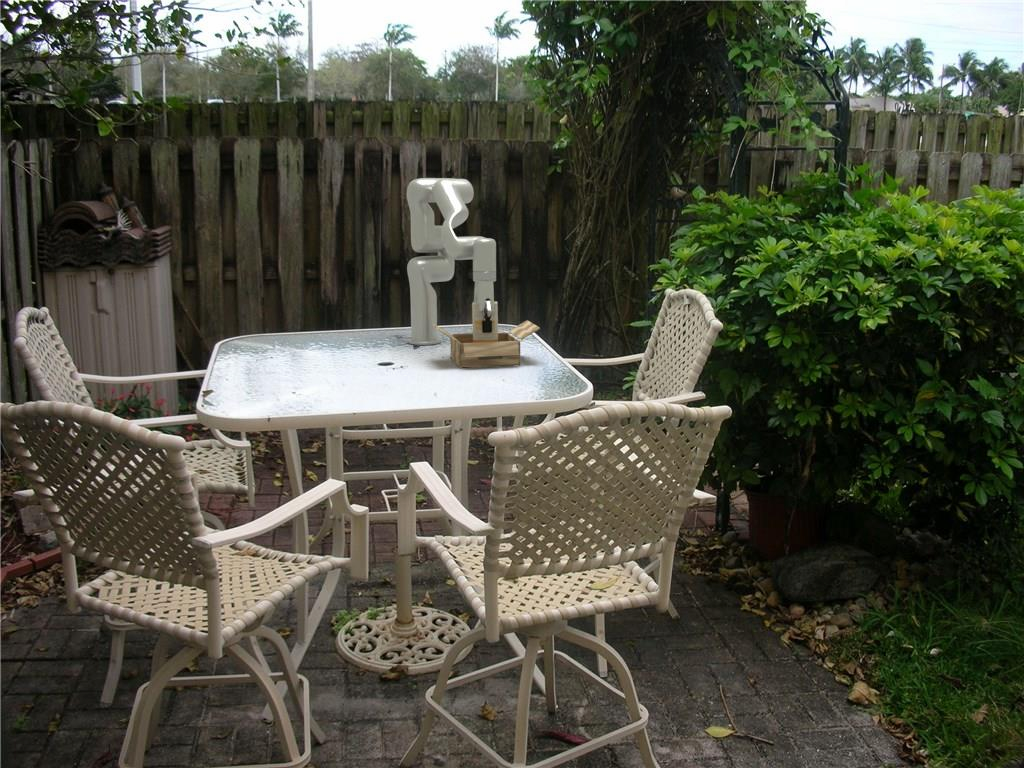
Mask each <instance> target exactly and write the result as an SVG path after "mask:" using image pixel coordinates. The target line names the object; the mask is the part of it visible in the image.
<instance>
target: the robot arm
mask: <svg viewBox="0 0 1024 768" xmlns="http://www.w3.org/2000/svg"><path fill="white" fill-rule="evenodd" d="M474 193H475V191H474V186H473V185H472V183H471V182H470V181H469V180H468V179H465V178H452V177H451V178H449V177H448V178H447V177H445V178H444V177H441V178H439V177H437V178H436V177H423V178H422V177H421V178H420V177H419V178H415V179H413V180H412V181H410V182H409V183H408V186H407V189H406V200H407V204H408V208H409V211H410V243H411V248H412V250H413V251H414V252H415V253H423V254H424V253H437V255H424V256H415V257H413V258H411V259H409V261H408V263H407V267H406V270H407V271H406V272H407V277H408V282H409V283H408V284H409V289H410V290H409V292H410V295H409V296H410V326H411V327H410V329H411V331H410V332H411V333H410V336H411V337H409V338H407V340H406V342H407V343H408V344H409V345H414V346H415V345H417V346H418V345H419V346H429V345H430V346H431V345H437V344H440V342H441V343H442V338H441V337H438V330H437V329H436V328H435V327H434V326H433V325H432V324H431V323H433V324H435V325H437V326H438V306H437V303H438V301H437V292H436V290H435V288H434V287H433V286H432V284H431V283H439V282H442V283H443V282H448V281H450V280H452V279H453V277H454V274H455V261H463V260H464V261H465V260H472V281H473V282H474V294H473V295H474V296H473V302H476V303H477V311H479V312H481V311H482V314H483V321H482V332H483V333H491V332H492V314H491V312H492V311H493V310H494V302H495V294H494V293H495V291H494V288H495V287H494V282H496V281H497V242H496V240H495V239H493V238H490V237H489V238H487V237H484V236H477V235H475V236H472V235H471V236H457V235H456V233H455V232H454V229H455V228H457V227H459V226H460V225H462V224H463V223H464V222H465V221H466V220H467V219H468V217H469V213H470V212H469V209H468V207H467V205H466V204H469V203H471V202H472V200H473V198H474ZM429 203H436V205H437V207H438V208H439V211H440V213H441V214H442V216H443V219H444V221H443V223H442V225H435V212H434V210H433V209H432V207H431V206H430V204H429ZM491 307H492V309H491ZM484 310H487V311H484ZM485 313H486V314H485Z"/></svg>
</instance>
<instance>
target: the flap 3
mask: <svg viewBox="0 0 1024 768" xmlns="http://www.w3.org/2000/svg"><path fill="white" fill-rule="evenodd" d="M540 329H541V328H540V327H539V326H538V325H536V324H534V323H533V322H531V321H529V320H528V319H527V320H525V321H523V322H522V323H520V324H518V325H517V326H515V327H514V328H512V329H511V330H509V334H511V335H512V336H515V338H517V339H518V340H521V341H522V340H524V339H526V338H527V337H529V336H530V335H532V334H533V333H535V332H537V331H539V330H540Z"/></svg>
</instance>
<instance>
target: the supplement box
mask: <svg viewBox="0 0 1024 768" xmlns="http://www.w3.org/2000/svg"><path fill="white" fill-rule="evenodd" d="M471 307H472V308H471V309H472V310H471V312H472V313H471V315H472V320H471V321H472V333H473V342H497V341H498V332H499V316H498V315H499V314H498V312H499V310H498V309H499V307H498V301H494V310H493V311H492V312H491V314H492V332H491V333H483V332H482V321H483V314H482V311H481V312H479V311H477V303H476V302H474V301H473V302H472V303H471ZM491 309H492V307H491ZM484 311H487V310H484ZM485 314H486V313H485Z"/></svg>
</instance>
